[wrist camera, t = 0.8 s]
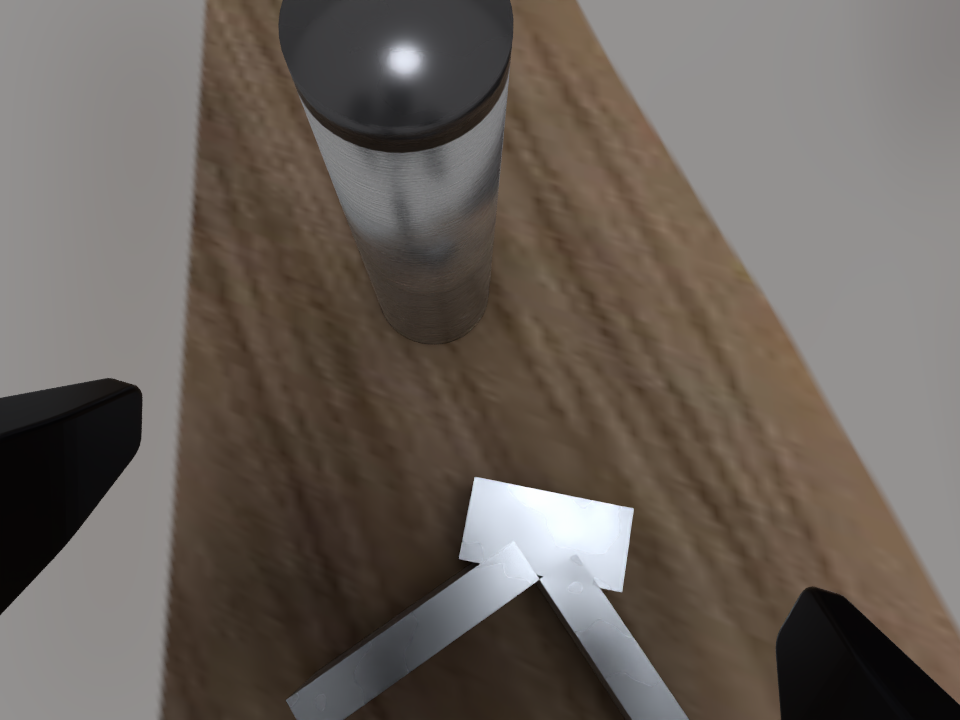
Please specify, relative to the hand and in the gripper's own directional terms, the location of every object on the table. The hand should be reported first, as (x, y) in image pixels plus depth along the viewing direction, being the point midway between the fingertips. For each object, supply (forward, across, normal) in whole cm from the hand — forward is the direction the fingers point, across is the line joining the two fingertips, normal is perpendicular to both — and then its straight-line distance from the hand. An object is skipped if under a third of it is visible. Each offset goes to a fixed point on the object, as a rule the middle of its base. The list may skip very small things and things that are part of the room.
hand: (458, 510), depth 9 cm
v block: (+9, -2, +10) cm, 14 cm away
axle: (+15, +3, +3) cm, 15 cm away
